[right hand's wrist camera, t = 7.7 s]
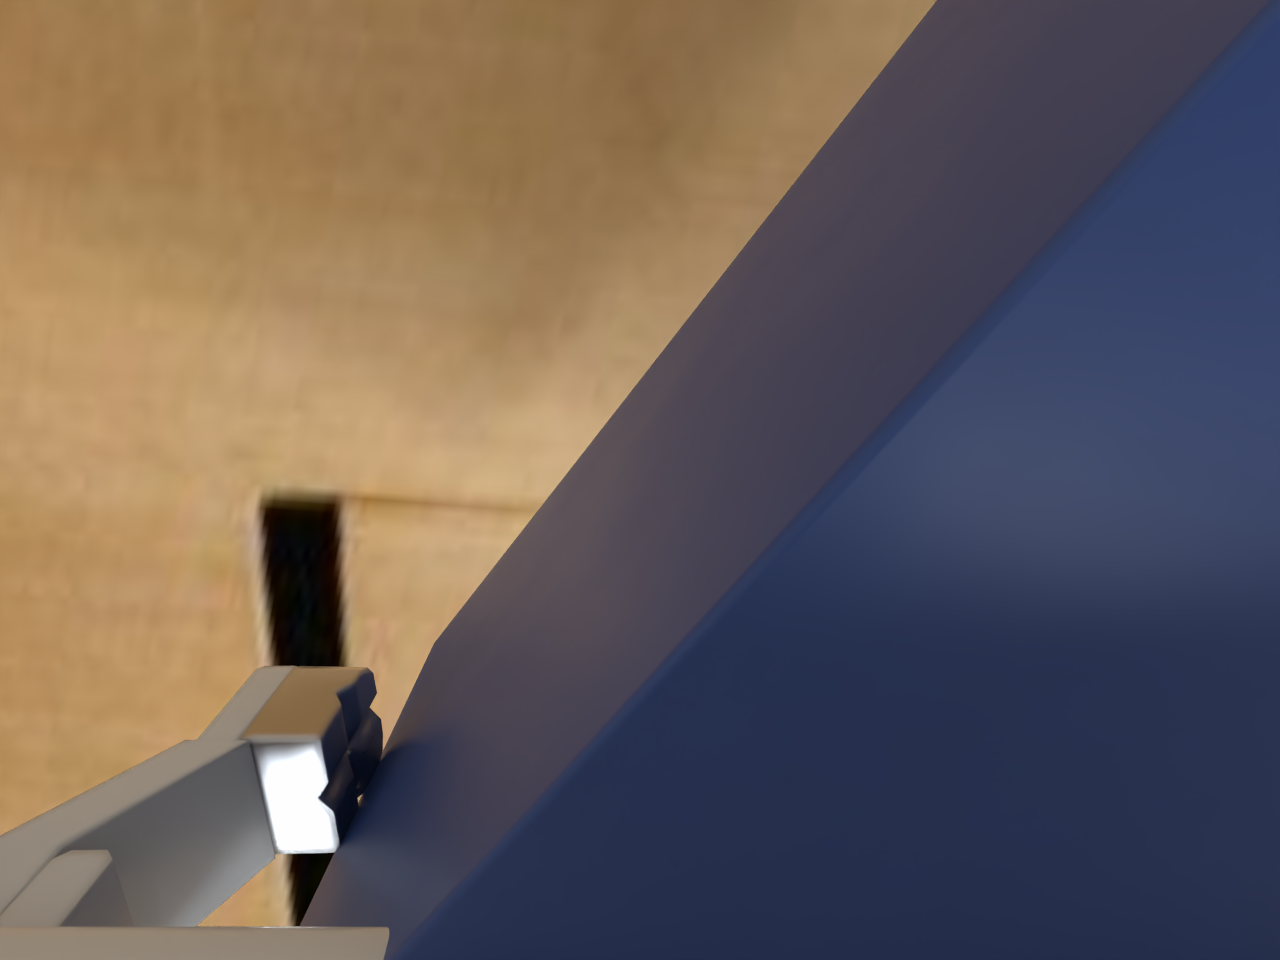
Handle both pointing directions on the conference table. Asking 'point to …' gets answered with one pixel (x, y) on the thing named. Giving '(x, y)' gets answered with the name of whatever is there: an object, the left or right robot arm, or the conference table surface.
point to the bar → (904, 555)
